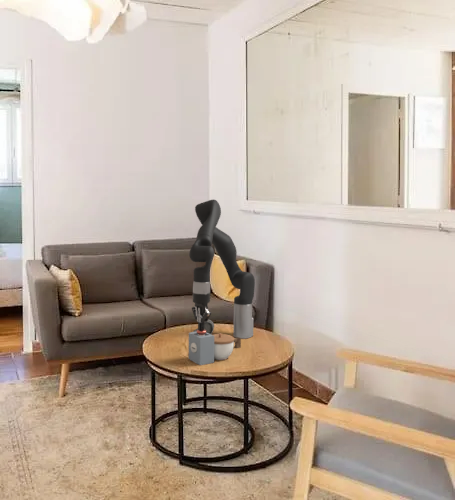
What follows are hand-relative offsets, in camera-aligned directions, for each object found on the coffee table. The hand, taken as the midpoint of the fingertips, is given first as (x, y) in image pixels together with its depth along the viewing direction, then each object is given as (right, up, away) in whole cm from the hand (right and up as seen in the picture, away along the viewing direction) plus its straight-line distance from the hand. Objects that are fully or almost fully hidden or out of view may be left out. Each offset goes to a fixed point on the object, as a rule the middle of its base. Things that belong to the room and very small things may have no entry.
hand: (201, 330), depth 258 cm
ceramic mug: (-1, -8, +45) cm, 46 cm away
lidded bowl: (+8, -13, +7) cm, 17 cm away
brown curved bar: (+7, -12, +17) cm, 22 cm away
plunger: (0, -6, +1) cm, 5 cm away
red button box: (0, -14, +2) cm, 14 cm away
